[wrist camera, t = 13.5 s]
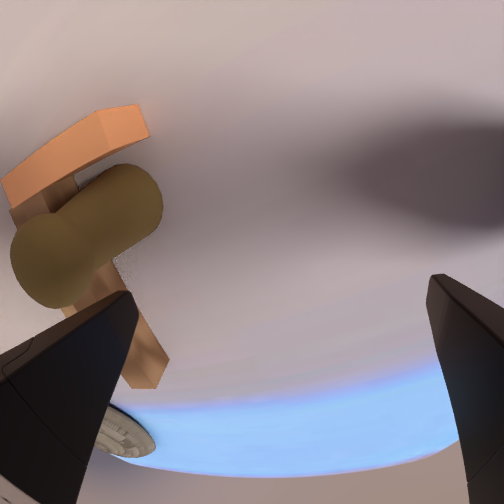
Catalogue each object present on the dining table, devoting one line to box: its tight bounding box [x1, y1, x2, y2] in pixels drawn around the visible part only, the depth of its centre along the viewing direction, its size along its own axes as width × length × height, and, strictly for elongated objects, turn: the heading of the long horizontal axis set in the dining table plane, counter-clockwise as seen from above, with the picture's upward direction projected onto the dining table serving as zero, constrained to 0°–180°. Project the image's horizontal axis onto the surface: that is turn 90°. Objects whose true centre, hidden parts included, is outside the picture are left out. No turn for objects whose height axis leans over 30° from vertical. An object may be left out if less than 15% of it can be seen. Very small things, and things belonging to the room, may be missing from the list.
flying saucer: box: [94, 406, 156, 458], centre depth 39 cm, size 15×15×6 cm
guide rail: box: [1, 104, 170, 389], centre depth 24 cm, size 22×17×5 cm
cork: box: [10, 164, 163, 309], centre depth 18 cm, size 6×6×11 cm
